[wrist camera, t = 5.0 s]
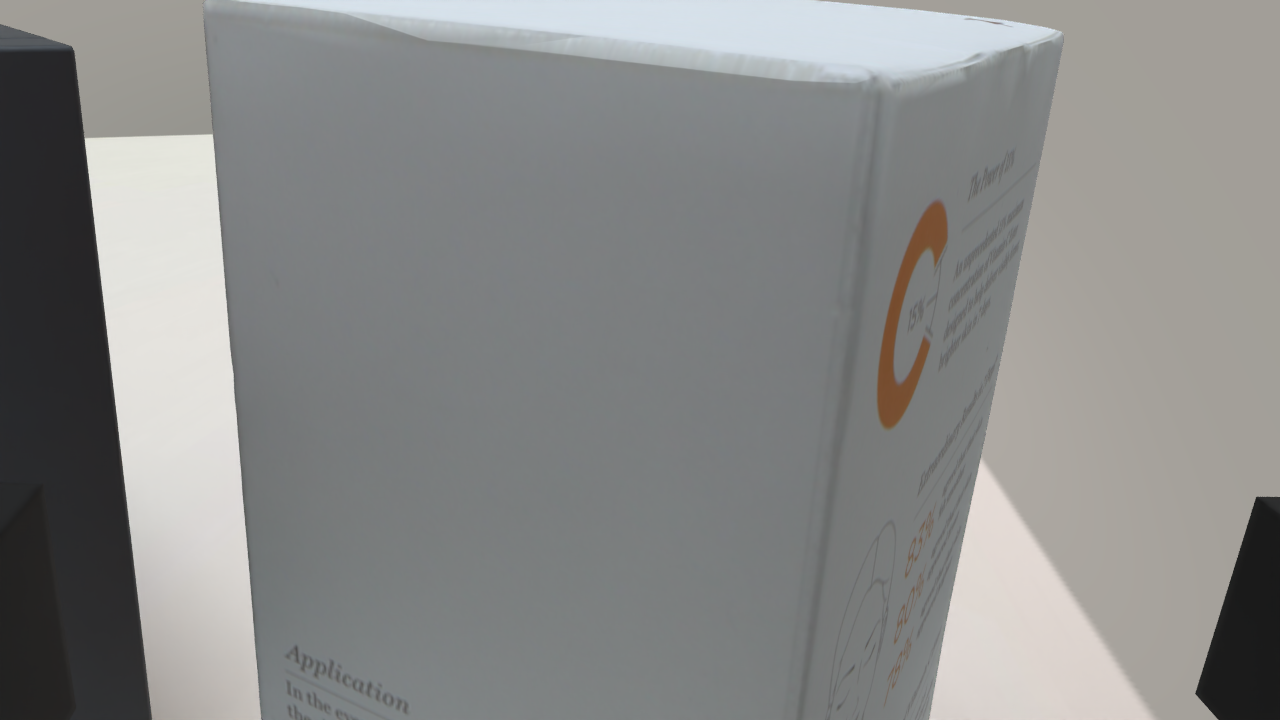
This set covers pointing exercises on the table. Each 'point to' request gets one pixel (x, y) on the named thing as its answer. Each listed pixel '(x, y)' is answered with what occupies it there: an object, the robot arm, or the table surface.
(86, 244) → the dark grey square bin
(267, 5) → the small box
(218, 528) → the table surface
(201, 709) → the table surface
